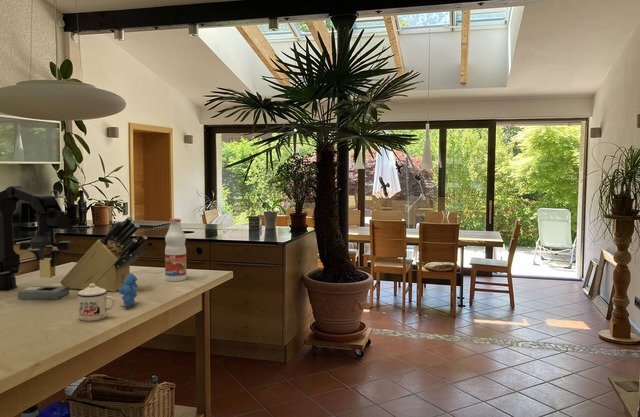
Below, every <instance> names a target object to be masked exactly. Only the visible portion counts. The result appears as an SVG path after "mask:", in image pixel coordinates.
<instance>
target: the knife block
mask: <svg viewBox="0 0 640 417" xmlns="http://www.w3.org/2000/svg"><path fill="white" fill-rule="evenodd" d="M139 228H140V223H137V222H136V220H133V216H131V215H129V216H126V218H125V219H124V220H123V222H120V221H117V223H115V224H114V225H113V226H112V227H111V228H110V230H108V232H107V234H106V235H105V236H104V237H101V238H100V239H97V240H96V242H94V244H93V245H92V246H90V248H89V249H88V250H87V251H86V252H85V253H84V254H83V255H82V256H81V258H80V259H79V260H78V261H77V262H76V264H75V265H74V266H72V268H71V269H70V270H69V271H68V272H67V273H66V275H65V276H64V277H63V278H62V279H61V280H60V282H59V283H60V284H61V286H69V289H71V290H72V289H76V290H77V289H78V290H84V289H85V288H87V287H89V284H95V286H97V287H99V288H103V289H105V290H106V291H107V292H113V293H115V292H116V291H118V290H119V288H120V287H121V286H124V285H125V283H124V280H125V279H126V277H127V276H128V274H130V273H131V272H130V270H131V269H130V268H131V267H130V266H131V264H133V263H134V262H135V261H136V260H138V259H139V258H140V257H141V256H142V255H143V254H145V253H146V252H147V249H145V248H144V249H140V250H138V249H139V248H140V247H141V246H142V245H143V244H144V243H145V242H146V241H147V239H148V237H147V236H146V235H144V236H142V237H141V238H140V237H139V236H137V237H135V238H134V237H133V238H131V237H132V236H133V235H134V234H135V233H136V232H137V230H138V229H139ZM130 238H131V239H130Z"/></svg>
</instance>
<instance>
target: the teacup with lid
mask: <svg viewBox="0 0 640 417" xmlns="http://www.w3.org/2000/svg"><path fill="white" fill-rule="evenodd" d="M107 293H108V291H106V290H105V289H103V288H99V287H97V286H95V284H89V287H87V288H85V289H80V291H78V292H77V296H78V319H79V320H80V321H85V322H91V321H92V322H93V321H99V320H102V319H104V318H106V317H107V316H108V315H107V314H108V311H111V310H113V309H114V307H115V305H116V299H115V297H113V296H112V295H107ZM107 299H108V300H111V301H112V305H111V306H110V307H109V308H107Z"/></svg>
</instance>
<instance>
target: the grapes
mask: <svg viewBox="0 0 640 417" xmlns="http://www.w3.org/2000/svg"><path fill="white" fill-rule="evenodd" d="M137 281H138V278H137V276H136V275H135V274H134V273H133V272H130V274H128V276H127V277H126V279H125V280H124V283H125V285H124V286H121V287H120V288H119V290H117V291H118V292H119V294H120V295H122V297H121V300H122V301H123V305H124V306H125V307H126V308H129V307H130V306H132V305H134V304H135V303H136V300H135V298H137V296H138V294H137V290H138V287H139V285H138V284H137Z"/></svg>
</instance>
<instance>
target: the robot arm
mask: <svg viewBox="0 0 640 417" xmlns="http://www.w3.org/2000/svg"><path fill="white" fill-rule="evenodd" d="M21 201H23V202H25V203H28V204H30V205H31V208H33V209H35V210H36V212H34V214H33V216H34V217H37V230H36V231H35V236H34V237H32V238H31V239H30V240H25V241H21V242H20V243H19V245H18V249H19V251H20V250H21V251H23V250H24V251H26V250H28V252H30V253H32V254H34V256H35V258H36V259H37V262H38V265H40V262H39V260H41V259H44V258H45V248H47V249H48V248H51V250H49V252H50V254H51V258H52V267H54V266H55V267H56V264H57V261H58V258H59V256H60V255H61V253H62V251H68V250H71V249H74V248H75V247H74V246H75V244H74V242H73V241H72V240H62V241H58V242H57V239H55V233H57V230H65V229H68V228H69V226H70V224H71V220H70V217H69V216H68V215H66V211H63V210H62V208H61V206H60V205H59V202H58V201H57V199H56V197H55V196H54V195H49V194H39V193H36V192H34V191H32V190H29V189H27V188H24V187H22V186H20V185H12V186H8V187H6V189H5V190H3V191H0V291H10V290H13V289H16V288H18V286H17V278H16V277H15V274H18V273H19V270H20V266H21V260H20V259H21V258H20V254H19V253H17V252H16V250H15V248H14V246H15V245H14V229H13V228H14V227H13V215H14V213H15V212H16V209H17V204H18V203H19V202H21Z"/></svg>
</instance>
